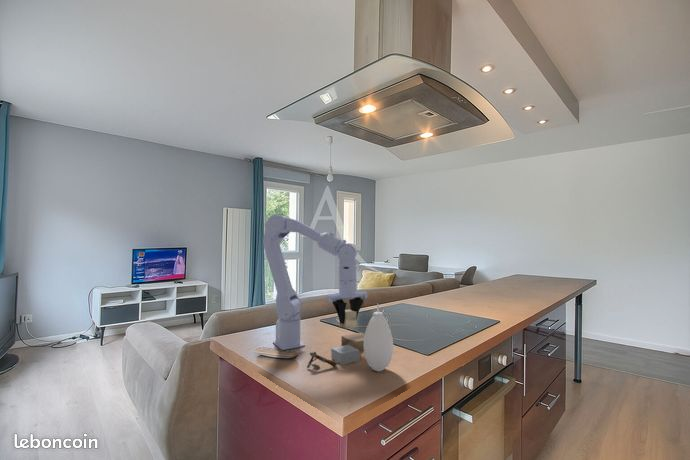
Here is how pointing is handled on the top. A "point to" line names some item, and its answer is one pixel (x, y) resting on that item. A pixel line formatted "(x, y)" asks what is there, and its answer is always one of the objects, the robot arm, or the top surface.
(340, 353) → the slate grey block
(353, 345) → the tan square slab
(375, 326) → the sauce bottle
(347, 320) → the maple block
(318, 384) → the top surface
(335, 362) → the toy blunderbuss
